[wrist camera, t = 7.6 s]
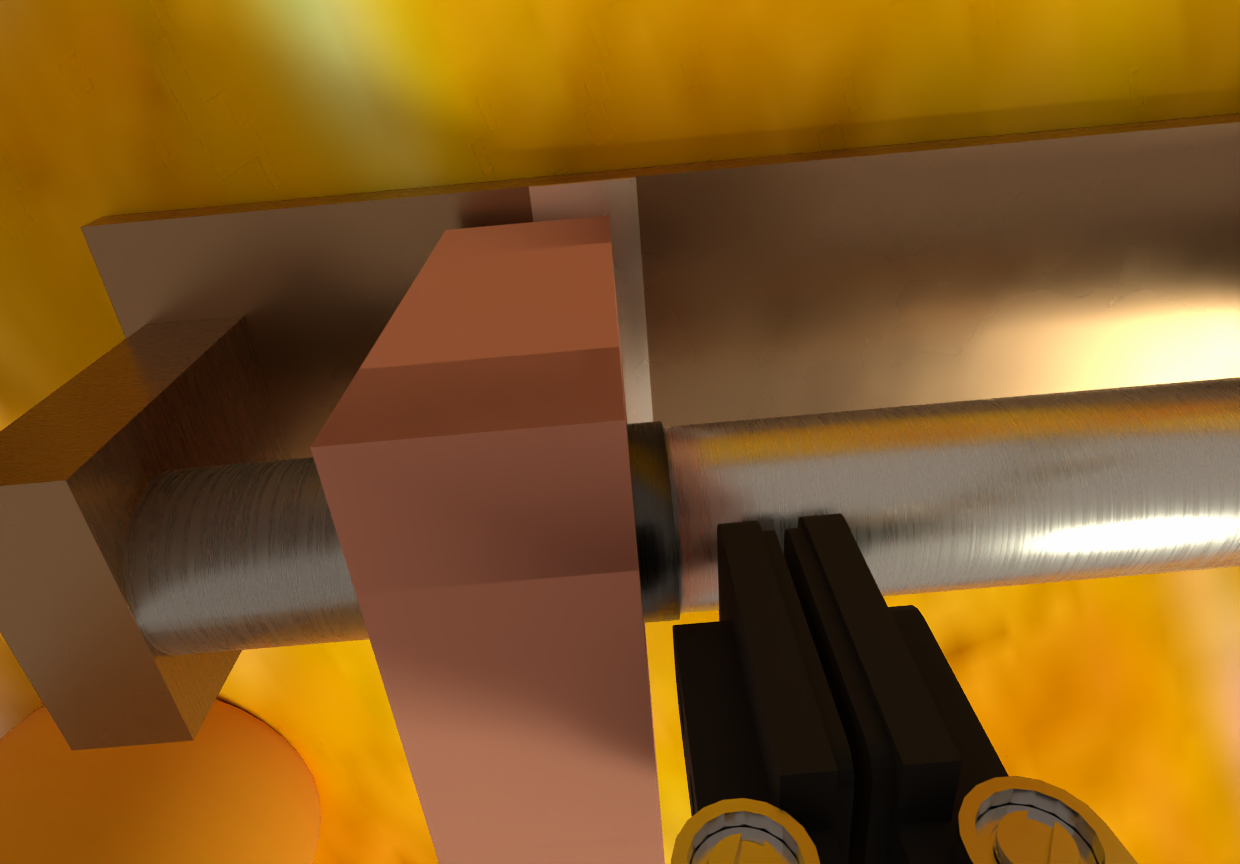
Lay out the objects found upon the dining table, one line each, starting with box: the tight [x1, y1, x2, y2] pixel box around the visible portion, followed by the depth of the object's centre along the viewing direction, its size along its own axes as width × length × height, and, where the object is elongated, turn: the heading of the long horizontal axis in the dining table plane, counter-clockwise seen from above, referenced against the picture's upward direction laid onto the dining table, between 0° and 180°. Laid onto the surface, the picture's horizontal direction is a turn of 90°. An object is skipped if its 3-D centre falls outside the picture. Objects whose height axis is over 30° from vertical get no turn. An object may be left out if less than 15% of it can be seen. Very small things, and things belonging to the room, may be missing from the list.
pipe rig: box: [0, 114, 1240, 751], centre depth 15 cm, size 9×31×7 cm, turn 94°
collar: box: [310, 215, 665, 864], centre depth 13 cm, size 8×3×8 cm, turn 4°
